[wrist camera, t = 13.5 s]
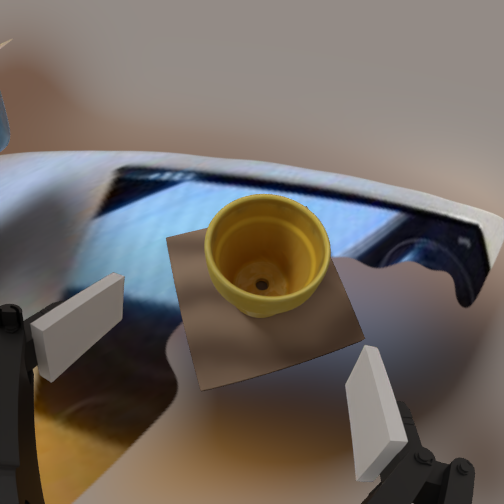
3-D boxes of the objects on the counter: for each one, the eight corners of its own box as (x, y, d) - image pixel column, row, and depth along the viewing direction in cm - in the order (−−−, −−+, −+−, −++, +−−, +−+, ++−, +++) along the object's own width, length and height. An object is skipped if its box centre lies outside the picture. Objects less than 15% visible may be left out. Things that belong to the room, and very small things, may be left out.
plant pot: (273, 232, 37) (284, 176, 28) (325, 302, 33) (355, 261, 24) (195, 272, 34) (182, 222, 25) (244, 352, 30) (247, 328, 21)
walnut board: (167, 242, 37) (165, 237, 36) (305, 211, 40) (306, 206, 39) (202, 391, 29) (200, 390, 28) (361, 341, 32) (365, 338, 31)
